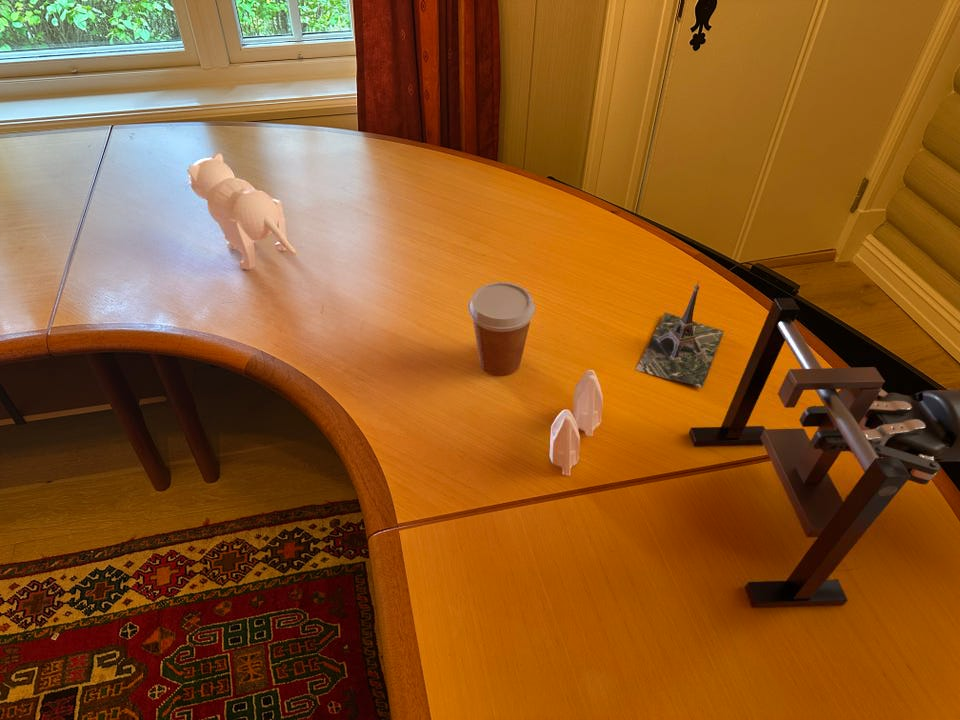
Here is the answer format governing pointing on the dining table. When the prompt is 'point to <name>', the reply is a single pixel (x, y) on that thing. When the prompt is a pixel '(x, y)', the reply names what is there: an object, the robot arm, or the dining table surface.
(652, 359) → the eiffel tower figurine
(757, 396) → the rack
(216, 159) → the cat figurine
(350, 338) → the dining table surface
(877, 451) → the robot arm
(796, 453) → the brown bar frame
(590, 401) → the shaker set
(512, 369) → the disposable coffee cup
